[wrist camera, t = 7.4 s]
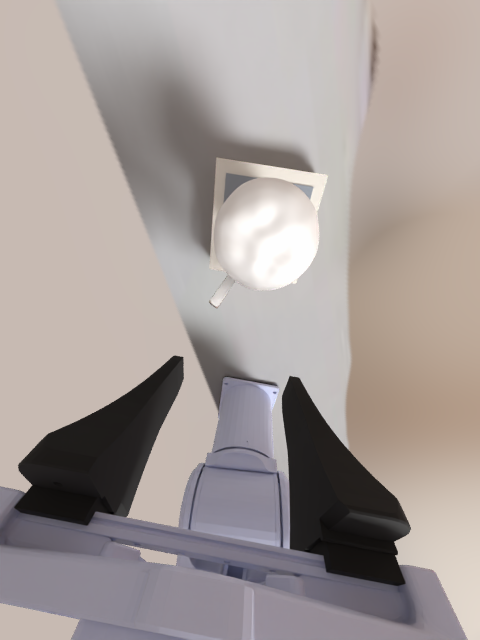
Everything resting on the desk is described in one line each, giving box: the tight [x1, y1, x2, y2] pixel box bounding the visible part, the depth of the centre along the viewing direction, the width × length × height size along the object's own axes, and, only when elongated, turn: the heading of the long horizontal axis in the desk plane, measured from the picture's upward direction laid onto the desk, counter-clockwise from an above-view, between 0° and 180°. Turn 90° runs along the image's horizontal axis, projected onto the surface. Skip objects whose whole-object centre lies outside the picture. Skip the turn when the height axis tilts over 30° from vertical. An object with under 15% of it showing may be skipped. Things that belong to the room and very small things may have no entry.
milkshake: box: [209, 177, 319, 308], centre depth 11 cm, size 4×5×10 cm
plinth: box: [209, 157, 328, 284], centre depth 17 cm, size 8×8×3 cm
